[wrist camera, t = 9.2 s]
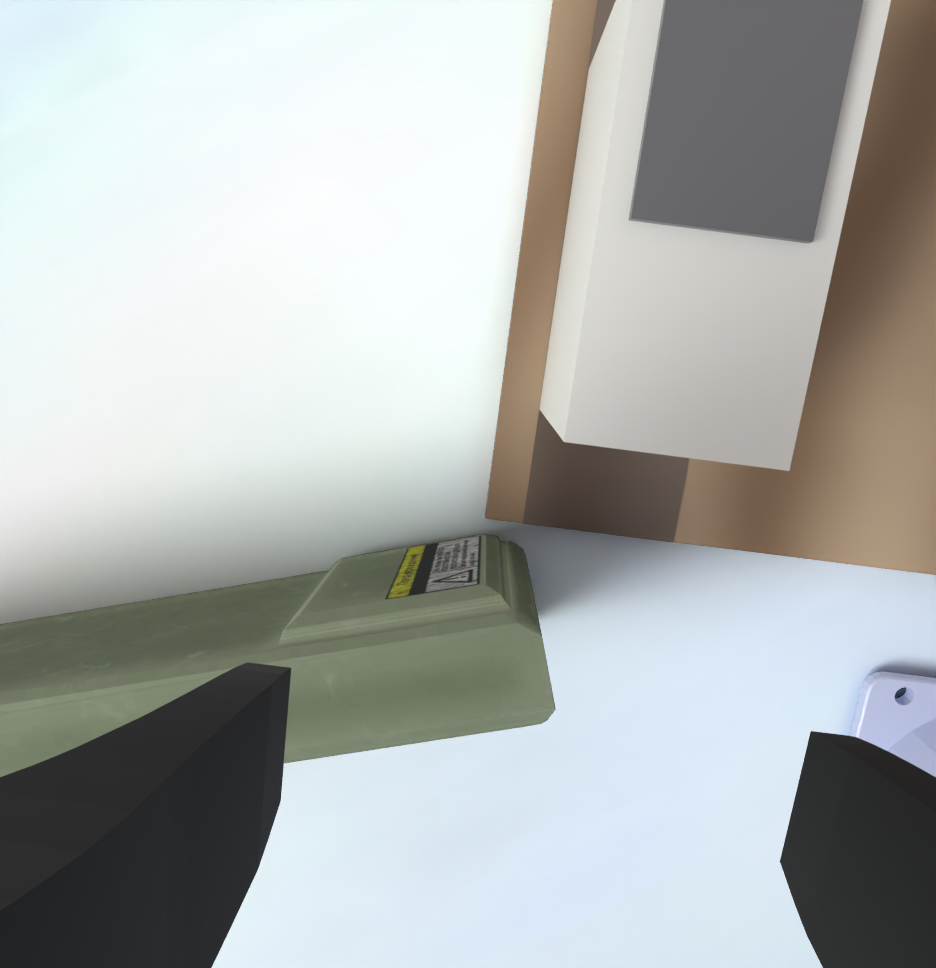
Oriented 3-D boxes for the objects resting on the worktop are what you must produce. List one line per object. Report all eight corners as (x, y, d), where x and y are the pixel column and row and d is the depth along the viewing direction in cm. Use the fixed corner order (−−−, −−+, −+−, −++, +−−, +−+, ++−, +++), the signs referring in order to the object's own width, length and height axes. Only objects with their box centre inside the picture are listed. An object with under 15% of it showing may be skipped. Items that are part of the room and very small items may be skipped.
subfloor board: (1236, 22, 17) (1264, 11, 17) (1068, 586, 20) (1087, 594, 20) (561, -64, 17) (563, -78, 17) (485, 513, 20) (485, 518, 19)
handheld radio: (539, 631, 21) (-278, 761, 22) (520, 520, 21) (-314, 658, 22) (562, 751, 15) (-598, 925, 16) (535, 591, 14) (-659, 784, 15)
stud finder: (758, 91, 17) (905, -40, 11) (694, 429, 19) (794, 473, 13) (588, 70, 17) (645, -75, 11) (539, 408, 19) (565, 443, 13)
